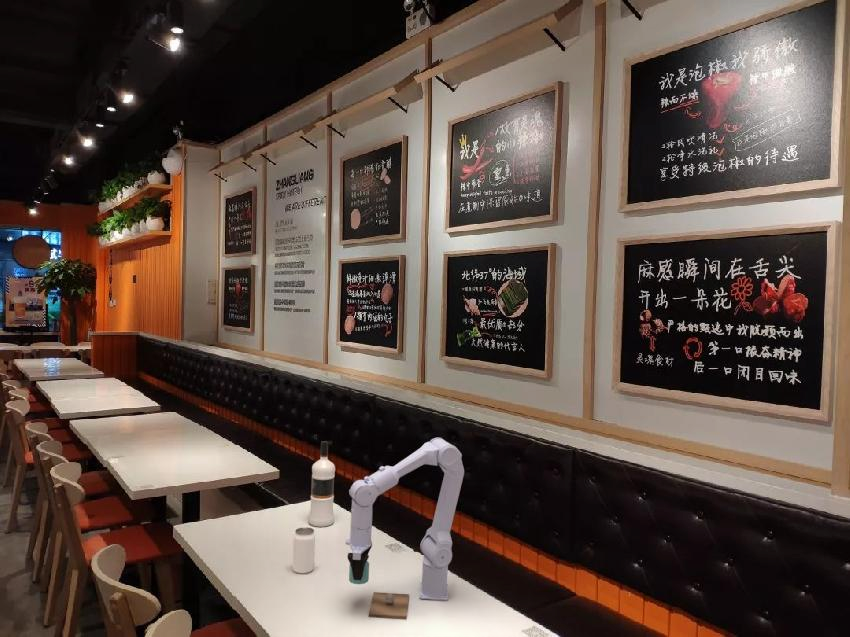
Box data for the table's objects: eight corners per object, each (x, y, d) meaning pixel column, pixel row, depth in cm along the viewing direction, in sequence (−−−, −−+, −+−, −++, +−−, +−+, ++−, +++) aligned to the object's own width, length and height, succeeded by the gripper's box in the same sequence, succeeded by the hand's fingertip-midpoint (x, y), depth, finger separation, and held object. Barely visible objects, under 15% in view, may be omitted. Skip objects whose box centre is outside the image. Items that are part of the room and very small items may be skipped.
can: (315, 565, 194) (316, 527, 194) (312, 574, 188) (313, 535, 187) (294, 564, 194) (295, 526, 194) (290, 573, 188) (292, 534, 187)
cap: (350, 574, 174) (351, 558, 174) (369, 575, 174) (370, 560, 174) (347, 583, 169) (348, 567, 169) (367, 584, 169) (367, 568, 168)
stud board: (373, 594, 177) (374, 582, 177) (408, 597, 177) (409, 584, 177) (368, 616, 165) (369, 603, 165) (406, 619, 165) (406, 606, 165)
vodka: (327, 529, 223) (330, 445, 222) (303, 525, 226) (307, 442, 225) (338, 520, 232) (341, 440, 231) (315, 516, 235) (318, 437, 234)
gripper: (350, 515, 178) (348, 562, 179) (342, 535, 163) (340, 586, 164) (375, 516, 178) (373, 563, 178) (369, 536, 163) (366, 587, 164)
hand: (359, 574), depth 171 cm, fingers closed on cap, 5 cm apart
